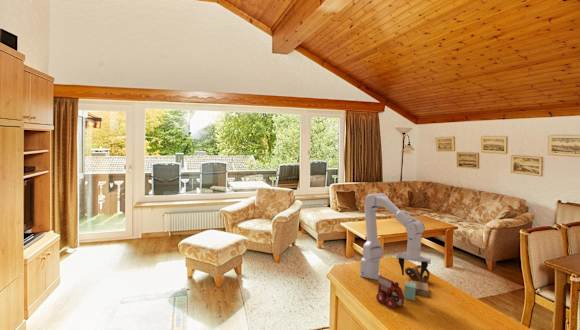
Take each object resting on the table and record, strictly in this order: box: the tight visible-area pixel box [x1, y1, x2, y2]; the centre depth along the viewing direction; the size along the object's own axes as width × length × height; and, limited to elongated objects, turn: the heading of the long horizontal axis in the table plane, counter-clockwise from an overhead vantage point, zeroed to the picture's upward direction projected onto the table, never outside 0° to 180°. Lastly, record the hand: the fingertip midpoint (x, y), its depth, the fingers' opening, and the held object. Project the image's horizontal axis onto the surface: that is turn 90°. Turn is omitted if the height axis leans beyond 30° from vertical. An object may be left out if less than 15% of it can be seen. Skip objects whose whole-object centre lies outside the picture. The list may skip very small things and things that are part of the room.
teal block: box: [403, 281, 416, 302], centre depth 141 cm, size 4×4×6 cm
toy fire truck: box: [376, 275, 405, 309], centre depth 135 cm, size 7×12×10 cm, turn 39°
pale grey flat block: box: [409, 279, 429, 297], centre depth 148 cm, size 8×8×3 cm
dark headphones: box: [404, 264, 431, 283], centre depth 159 cm, size 12×10×8 cm
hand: (411, 275), depth 141 cm, fingers open, 7 cm apart
